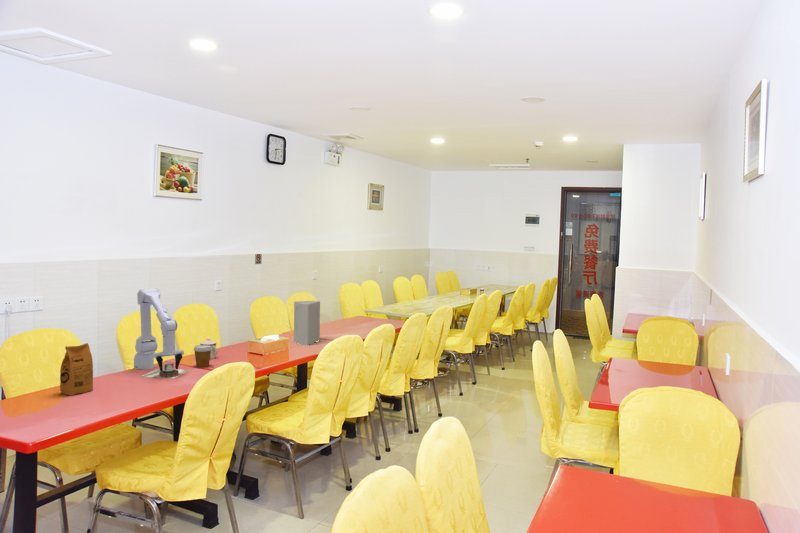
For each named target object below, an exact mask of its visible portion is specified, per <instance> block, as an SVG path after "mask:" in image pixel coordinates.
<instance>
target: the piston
mask: <svg viewBox="0 0 800 533" xmlns="http://www.w3.org/2000/svg"><path fill="white" fill-rule="evenodd" d="M174 368H175V366H174V363H173V362H167V363H164V364H163V369H164V373H173V372H174Z"/></svg>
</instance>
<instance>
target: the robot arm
mask: <svg viewBox="0 0 800 533" xmlns="http://www.w3.org/2000/svg"><path fill="white" fill-rule="evenodd" d="M136 298H137V305H139V311H140V312H139V314H140V330H141V331H140V332H141V333H140V334H141V335H140V336H139V337H137V338H136V340H135V348H134V349H135V351H136V353H135V354H134V356H133V369H134V370H135V369H136V370H137V369H138V370H152V369H154V367H155V362H154V361H155V360H156V362H157V364H158V369H160V371H163V369H164V366H163V362H164V361H163V360H164V359H163V357H172V356H173V357H174V360H175V361H174V362H175V366H174V368H175V369H178V370H179V365H180V363H181V361H182V359H183V356H184V355H185V351H184V350H176V331H177V330H178V322H177V320H176V319H174V318H172V316H171V314H170V313H169V311H168V309H165V308H164V306H163V304H162V301H161V291H160V289H159V288H157V287H155V288H148V289H145V288H143V289H139V290H138V292H137V296H136ZM151 306H152V307H153V308H154V310H155V311H156V317H157V319H158V321H159V323H160V330H161V335H162V351H161V352H157V350H158V343H157V342H158V341H157V338H156V336H153V335H152V317H151V316H152V315H151V312H152V310H151Z"/></svg>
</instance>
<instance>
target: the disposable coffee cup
mask: <svg viewBox="0 0 800 533" xmlns="http://www.w3.org/2000/svg"><path fill="white" fill-rule="evenodd" d="M211 349H212V348H211V346H210V345H200V344H199V345H195V346H194V348H193V352H194V358H195V365H196V368H209V366H210V361H211V359H210V354H211Z"/></svg>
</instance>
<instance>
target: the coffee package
mask: <svg viewBox="0 0 800 533" xmlns="http://www.w3.org/2000/svg"><path fill="white" fill-rule="evenodd" d="M64 349H65V351H66V352H65V354H64V358H63V359H62V363H61V364H60V370H59V374H60V375H59V376H60V377H59V381H60V382H59V391H60V393H61V394H64V395H66V396H75V395H77V394H85V393H89V392H91V391H93V390H94V362H93V361H94V360H93V356H92V352H91V349H90V344H89V343H88V342H86V343H83V344H81V345H69V346H68V345H67V346H65V347H64Z"/></svg>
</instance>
